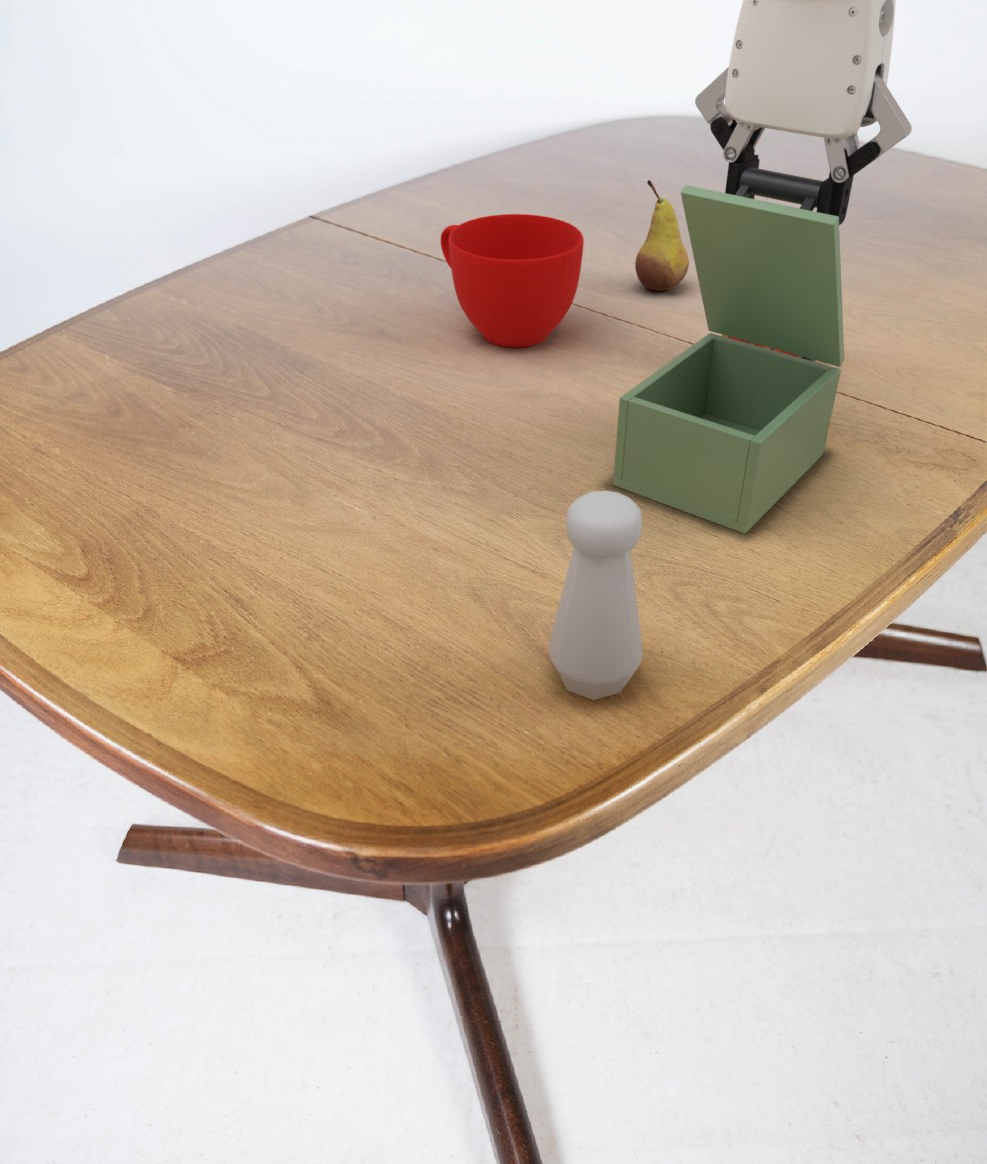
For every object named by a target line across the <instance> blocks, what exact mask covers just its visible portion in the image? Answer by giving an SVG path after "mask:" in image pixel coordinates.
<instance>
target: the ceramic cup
mask: <svg viewBox="0 0 987 1164" xmlns="http://www.w3.org/2000/svg"><path fill="white" fill-rule="evenodd" d="M440 249H441V252H442V254H443V257H444V259H445V262H446V263H447V265H448V267H449V268H450V270H451V277H452V281H453V287H454V290H455V294H456V298H457V300H458V303H459V305H460V307H461V309H462V311H463V313H464V314H465V316H466V318H467V319H468V321H469V322H470V323H471V324H472V326H473V327H474V328H475V329H476V330H477V331H478V332H479V333H480V334H481V335H482V337H483V339H485V340H486V341H487V342H489V343H491V344H493V345H496V346H501V347H505V348H506V347H507V348H526V347H530V346H535V345H539V344H540V343H543V342H544V341H545V340H546V339H547V338H548V336H549V335H550V334H551V333H552V332H553V331H554V330H555V329H556V328H558V326H559V325H560V323H562V321H563V319H564V318H565V317H566V315H567V314H568V312H569V310H570V309H571V306H572V304H573V302H574V299H575V297H576V294H577V290H578V286H579V282H580V276H581V269H582V262H583V255H584V254H583V253H584V236H583V233H582V231H581V230H580V229H579V228H578V227H576V226H575V225H573V224H571V223H570V222H567V221H564V220H561V219H558V218H555V217H550V216H545V215H544V216H543V215H538V214H529V213H528V214H527V213H525V214H524V213H506V214H505V213H504V214H495V215H494V214H493V215H488V216H482V217H477V218H474V219H469V220H467V221H465V222H462V223H460V224H450V225H448V226H446V227H445V228H444V229H443V230H442V232H441V234H440Z"/></svg>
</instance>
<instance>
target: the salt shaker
mask: <svg viewBox="0 0 987 1164" xmlns="http://www.w3.org/2000/svg"><path fill="white" fill-rule="evenodd" d="M642 516H643V515H642V508H641V507H639V506H638V504H637V503H636V502H635V501H634V500H633V499H631V498H630V497H629V496H627V495H624V494H622V493H620V492H617V491H610V490H595V491H594V490H593V491H590V492H587V493H585V494H581V495H580V496H578V497H577V498H576V499H575V500H574V501H573V502H572V503H571V504H570V505H569V506H568V509H567V513H566V536H567V539H568V541H569V542H570V544H572V546H573V548H572V552H571V555H570V559H569V564H568V567H567V571H566V575H565V578H564V582H563V586H562V590H561V595H560V597H559V602H558V606H557V610H556V614H555V618H554V621H553V626H552V628H551V632H550V636H549V645H548V646H549V647H548V649H549V650H548V656H549V661H550V663H552V665H553V666H554V668H555V669H556V671H557V672H558V675H559V676H560V679H561V680H562V683H563V684H564V685H563V686H564V687H565V690H566V691H568V692H569V693H573V694H575V695H578V696H581V697H584V698H586V699H589V700H592V701H596V700H599V699H600V700H601V699H603V698H606V697H610V696H614V695H617V694H620V693H621V692H622V691H623V689H624V688H625V687H626V686H627V684H628V683H629V681H630V680H631V679H632V678H633V676H634V674H635V673H636V672H637V669H639V667H640V665H641V663H642V660H643V639H642V631H641V622H640V615H639V605H638V599H637V598H638V597H637V589H636V581H635V575H634V574H635V573H634V565H633V558H632V551H633V550H634V548H635V547H636V546H637V545H638V543H639V541H640V540H641V538H642V532H643V517H642Z"/></svg>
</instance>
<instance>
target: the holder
mask: <svg viewBox="0 0 987 1164" xmlns="http://www.w3.org/2000/svg"><path fill="white" fill-rule="evenodd" d="M841 372H842V369H841V368H840V367H835V366H832V365H829V364H828V365H827V364H825V363H822V362H818V361H817V362H816V361H815V362H813V361H810V360H806V359H803V358H799V357H795V356H792V355H788V354H785V353H781V352H777V351H774V350H770V349H767V348H763V347H759V346H756V345H752V344H748V343H745V342H741V341H738V340H734V339H730V338H727V337H723V336H722V335H721V334H717V333H716V334H715V333H713V332H709V333H708V334H706V335H705V336H704V337H702V338H701V339H699V340H698V341H697V342H695V343H694V344H691V346H689V347H688V348H686V349H685V350H683V352H681V353H680V354H678V355H677V356H676V357H674V358H673V359H671V360H670V361H668V362H667V363H666V364H665V365H663V366H662V367H660V368H659V369H658V370H655V372H653V373H652V374H651V375H649V376H648V377H646V378H645V379H644V380H642V381H640V383H638V384H636V385H635V386H633V388H631V389H630V390H628V391H627V392H625V393H624V394H623V395H621V396H620V397H619V401H618V414H617V415H618V417H617V427H616V428H617V429H616V441H615V442H616V444H615V453H614V454H615V455H614V467H613V479H612V485H613V486H614V487H617V488H620V489H622V490H624V491H628V492H630V493H633V494H636V495H638V496H641V497H644V498H647V499H650V500H652V501H655V502H658V503H660V504H662V505H666V506H669V507H671V508H673V509H677V510H679V511H682V512H684V513H688V514H690V515H692V516H695V517H698V518H701V519H703V520H707V521H709V522H712V523H714V524H717V525H720V526H723V527H725V528H728V529H730V530H732V531H733V530H734V531H736V532H738V533H741V534H744V535H746V534H747V533H748V532H749V531H750V530H751V529H752V528H753V527H754V525H756V523H758V522H759V520H760V519H762V517H764V515H766V513H767V512H768V511H769V510H770V509H771V508H773V506H774V505H775V504H776V503H777V502H778V501H779V500H780V499H781V498H782V497H783V496H784V495H785V494H786V493H787V492H788V491H789V490H790V489H791V488H792V487H793V486H794V485H795V484H796V483H797V482H798V481H799V480H800V479H801V477H803V476H804V475H805V474H806V472H807V471H808V470H809V469H811V467H812V466H814V464H816V462H817V461H818V460H819V459H820V458H821V457H822V456H824V454H825V453H824V452H825V448H826V443H827V438H828V434H829V428H830V424H831V420H832V415H833V410H834V405H835V400H836V397H837V396H836V395H837V391H838V386H839V381H840V377H841Z"/></svg>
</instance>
